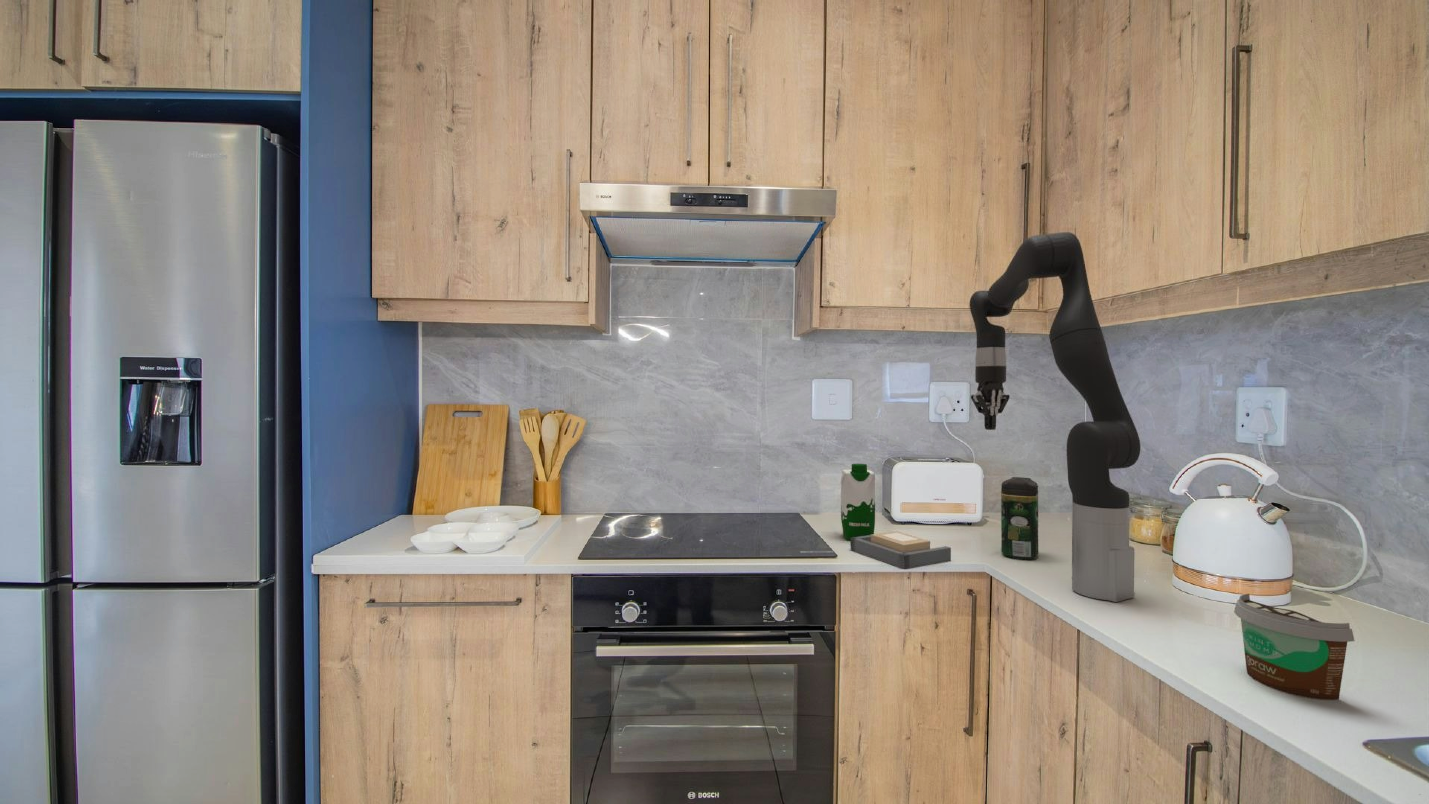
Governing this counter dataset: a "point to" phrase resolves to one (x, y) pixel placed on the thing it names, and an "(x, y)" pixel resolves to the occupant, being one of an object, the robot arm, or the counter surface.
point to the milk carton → (857, 501)
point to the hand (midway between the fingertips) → (990, 429)
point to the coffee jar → (1019, 518)
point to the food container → (1293, 650)
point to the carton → (900, 541)
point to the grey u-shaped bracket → (900, 553)
